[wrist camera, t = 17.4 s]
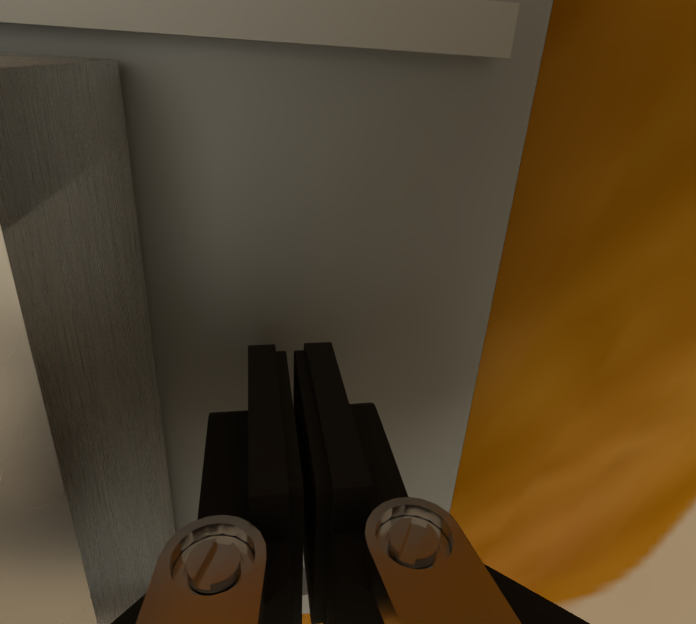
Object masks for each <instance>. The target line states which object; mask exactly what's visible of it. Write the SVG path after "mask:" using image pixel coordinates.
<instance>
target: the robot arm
mask: <svg viewBox="0 0 696 624" xmlns="http://www.w3.org/2000/svg"><path fill="white" fill-rule="evenodd" d="M303 555H304V564H305V573H306V582H307V591H308V600H309V609H310V617H311V623H312V624H318V623H323V624H589V623H588V622H586V621H584V620H582V619H581V618H579V617H577V616H575V615H574V614H572V613H570V612H568V611H566V610H565V609H563V608H561V607H559V606H558V605H556V604H554V603H552V602H551V601H549V600H547V599H545V598H543V597H542V596H540V595H538V594H536V593H535V592H533V591H531V590H529V589H528V588H526V587H524V586H522V585H520V584H519V583H517V582H515V581H513V580H512V579H510V578H508V577H506V576H504V575H503V574H501V573H499V572H497V571H496V570H494V569H492V568H490V567H489V566H487V565H485V564H483V562H482V561H481V559H480V558H479V556H478V554H477V553H476V551H475V550H474V548H473V546H472V545H471V543H470V542H469V540H468V539H467V537H466V535H465V534H464V532H463V531H462V529H461V528H460V526H459V524H458V523H457V522H456V521H455V520H454V518H453V517H452V516H451V515H450V514H449V513H448V512H447V511H445V510H444V509H443V508H441V507H440V506H438V505H437V504H434V503H432V502H429V501H427V500H424V499H420V498H413V497H408V494H407V491H406V489H405V486H404V483H403V480H402V478H401V475H400V472H399V469H398V467H397V464H396V461H395V458H394V455H393V453H392V450H391V447H390V444H389V442H388V439H387V436H386V433H385V431H384V428H383V425H382V422H381V420H380V417H379V414H378V411H377V409H376V407H375V404H374V403H372V402H371V403H356V404H349V401H348V398H347V394H346V391H345V387H344V384H343V380H342V377H341V374H340V370H339V367H338V363H337V360H336V356H335V353H334V349H333V346H332V343H331V342H318V343H304V350H294V397H293V400H292V393H291V385H290V377H289V370H288V362H287V354H286V351H276V348H275V344H269V345H248V410H244V411H228V412H212V413H209V416H208V424H207V434H206V443H205V452H204V462H203V471H202V481H201V490H200V500H199V509H198V518H197V520H196V521H193V522H191V523H189V524H188V525H186V526H184V527H183V528H181V529H180V530H178V531H177V532H176V533H175V534H174V535H173V536H172V537H171V538H170V539H169V540H168V541H167V543H166V544H165V546H164V548H163V550H162V552H161V554H160V556H159V558H158V561H157V564H156V567H155V570H154V573H153V575H152V578H151V581H150V584H149V587H148V590H147V593H146V594H144V595H143V596H142V597H141V598H140V599H139V600H137V601H136V602H135V603H134V604H133V605H132V606H130V607H129V608H128V609H127V610H126V611H125V612H123V613H122V614H121V615H120V616H119V617H118V618H116V619H115V620H114V621H113V622H112V623H111V624H302V587H303Z"/></svg>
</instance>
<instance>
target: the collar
mask: <svg viewBox="0 0 696 624" xmlns="http://www.w3.org/2000/svg"><path fill="white" fill-rule="evenodd" d="M175 533H176V532H175V524H174V516H173V508H172V500H171V492H170V483H169V475H168V467H167V459H166V451H165V443H164V435H163V426H162V418H161V410H160V402H159V394H158V386H157V377H156V369H155V361H154V353H153V345H152V337H151V328H150V320H149V312H148V304H147V296H146V288H145V279H144V271H143V263H142V255H141V247H140V239H139V231H138V222H137V214H136V206H135V198H134V190H133V182H132V173H131V165H130V157H129V149H128V141H127V133H126V124H125V116H124V108H123V100H122V92H121V84H120V75H119V67H118V60H115V59H98V58H82V57H66V56H50V55H33V54H17V53H1V52H0V624H111V623H112V622H113V621H114V620H115V619H116V618H118V617H119V616H120V615H121V614H122V613H123V612H125V611H126V610H127V609H128V608H129V607H130V606H132V605H133V604H134V603H135V602H136V601H137V600H139V599H140V598H141V597H142V596H143V595H144V594H146V593H147V590H148V587H149V584H150V581H151V578H152V575H153V573H154V570H155V567H156V564H157V561H158V558H159V556H160V554H161V552H162V550H163V548H164V546H165V544H166V543H167V541H168V540H169V539H170V538H171V537H172V536H173V535H174V534H175Z"/></svg>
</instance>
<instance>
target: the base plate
mask: <svg viewBox="0 0 696 624" xmlns="http://www.w3.org/2000/svg"><path fill="white" fill-rule="evenodd" d="M552 4H553V0H0V52H1V53H17V54H33V55H50V56H66V57H82V58H98V59H115V60H118V67H119V75H120V84H121V92H122V100H123V108H124V116H125V124H126V133H127V141H128V149H129V157H130V165H131V173H132V182H133V190H134V198H135V206H136V214H137V222H138V231H139V239H140V247H141V255H142V263H143V271H144V279H145V288H146V296H147V304H148V312H149V320H150V328H151V337H152V345H153V353H154V361H155V369H156V377H157V386H158V394H159V402H160V410H161V418H162V426H163V435H164V443H165V451H166V459H167V467H168V475H169V483H170V492H171V500H172V508H173V516H174V524H175V532H177V531H178V530H180V529H181V528H183V527H184V526H186V525H188V524H189V523H191V522H193V521H196V520H197V518H198V509H199V500H200V490H201V481H202V471H203V462H204V452H205V443H206V434H207V424H208V416H209V413H212V412H228V411H244V410H248V345H269V344H275V348H276V351H286V354H287V362H288V370H289V377H290V385H291V393H292V400H293V397H294V350H304V343H318V342H331V343H332V346H333V349H334V353H335V356H336V360H337V363H338V367H339V370H340V374H341V377H342V380H343V384H344V387H345V391H346V394H347V398H348V401H349V404H356V403H371V402H372V403H374V404H375V407H376V409H377V411H378V414H379V417H380V420H381V422H382V425H383V428H384V431H385V433H386V436H387V439H388V442H389V444H390V447H391V450H392V453H393V455H394V458H395V461H396V464H397V467H398V469H399V472H400V475H401V478H402V480H403V483H404V486H405V489H406V491H407V494H408V497H413V498H420V499H424V500H427V501H429V502H432V503H434V504H437V505H438V506H440V507H441V508H443V509H444V510H445V511H447V512H448V513H449V512H450V507H451V502H452V497H453V492H454V487H455V482H456V477H457V472H458V468H459V463H460V458H461V453H462V448H463V443H464V438H465V433H466V428H467V423H468V418H469V413H470V408H471V403H472V399H473V394H474V389H475V384H476V379H477V374H478V369H479V364H480V359H481V354H482V349H483V344H484V339H485V334H486V329H487V325H488V320H489V315H490V310H491V305H492V300H493V295H494V290H495V285H496V280H497V275H498V270H499V265H500V260H501V255H502V251H503V246H504V241H505V236H506V231H507V226H508V221H509V216H510V211H511V206H512V201H513V196H514V191H515V186H516V181H517V177H518V172H519V167H520V162H521V157H522V152H523V147H524V142H525V137H526V132H527V127H528V122H529V117H530V112H531V108H532V103H533V98H534V93H535V88H536V83H537V78H538V73H539V68H540V63H541V58H542V53H543V48H544V43H545V38H546V34H547V29H548V24H549V19H550V14H551V9H552ZM307 613H310V609H309V600H308V591H307V582H306V573H305V564H304V555H303V587H302V614H307Z"/></svg>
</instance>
